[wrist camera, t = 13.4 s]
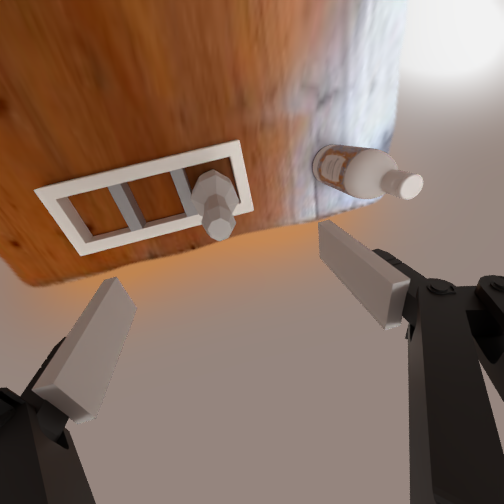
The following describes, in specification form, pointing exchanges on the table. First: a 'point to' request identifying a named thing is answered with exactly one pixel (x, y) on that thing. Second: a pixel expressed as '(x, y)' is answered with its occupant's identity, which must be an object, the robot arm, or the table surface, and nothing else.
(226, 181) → the low poly bottle
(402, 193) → the bath foam
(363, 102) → the table surface
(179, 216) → the white rectangular compartment rack
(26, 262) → the table surface
